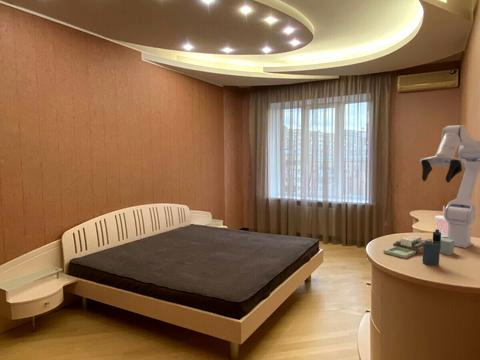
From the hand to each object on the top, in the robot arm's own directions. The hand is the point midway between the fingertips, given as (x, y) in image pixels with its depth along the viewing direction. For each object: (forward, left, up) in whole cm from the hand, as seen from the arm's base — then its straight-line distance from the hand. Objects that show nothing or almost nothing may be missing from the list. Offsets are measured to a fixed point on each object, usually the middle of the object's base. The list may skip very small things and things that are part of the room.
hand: (435, 179), depth 115 cm
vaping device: (+7, +3, -28) cm, 29 cm away
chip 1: (-3, -9, -26) cm, 28 cm away
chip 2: (-7, -9, -26) cm, 29 cm away
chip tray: (+4, -9, -28) cm, 30 cm away
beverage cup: (-36, -9, -29) cm, 47 cm away
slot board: (-8, -9, -28) cm, 31 cm away
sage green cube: (-11, +1, -28) cm, 30 cm away
